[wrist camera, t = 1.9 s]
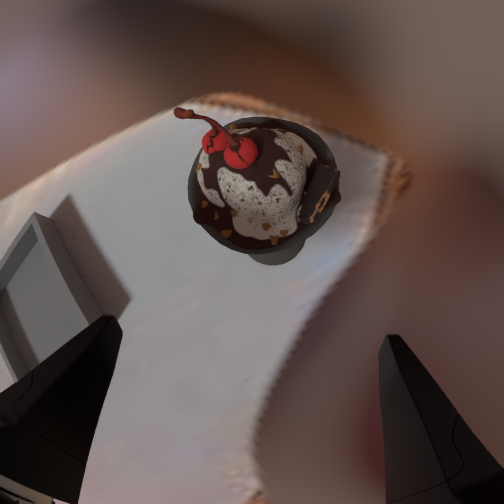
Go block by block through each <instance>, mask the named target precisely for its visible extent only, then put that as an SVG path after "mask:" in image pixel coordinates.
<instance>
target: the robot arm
mask: <svg viewBox="0 0 504 504" xmlns="http://www.w3.org/2000/svg"><path fill="white" fill-rule="evenodd" d="M122 336H123V332H122V329H121V327H120V325H119V323H118V321H117V319H116V317H115V316H113V315H109V314H104V315H102V316H101V317H99V318H98V319H97V320H95V321H94V322H93V323H91V324H90V325H89V326H87V327H86V328H85V329H83V330H82V331H81V332H79V333H78V334H77V335H76V336H74V337H73V338H72V339H70V340H69V341H68V342H66V343H65V344H64V345H63V346H61V347H60V348H59V349H57V350H56V351H55V352H54V353H52V354H51V355H50V356H49V357H47V358H46V359H45V360H44V361H42V362H41V363H40V364H39V365H37V366H36V367H35V368H34V369H32V370H31V371H30V372H29V373H27V374H26V375H25V376H23V377H22V378H21V379H20V380H18V381H17V382H16V383H14V384H13V385H11V386H10V387H9V388H7V389H6V390H4V391H3V392H1V393H0V504H55V502H54V501H53V499H54V498H55V499H57V500H60V501H63V502H66V503H69V504H78V500H79V495H80V491H81V486H82V481H83V477H84V473H85V469H86V463H87V460H88V456H89V452H90V448H91V445H92V441H93V437H94V434H95V430H96V427H97V423H98V420H99V416H100V413H101V410H102V407H103V403H104V400H105V397H106V394H107V391H108V388H109V385H110V382H111V379H112V376H113V373H114V369H115V365H116V361H117V357H118V352H119V348H120V344H121V341H122ZM378 360H379V361H378V362H379V400H380V410H381V419H382V430H383V441H384V457H385V480H386V481H385V482H386V504H504V468H503V467H502V466H501V465H500V464H499V463H498V462H497V461H496V459H495V458H494V457H493V456H492V455H491V453H490V452H489V451H488V450H487V449H486V448H485V446H484V445H483V444H482V443H481V442H480V440H479V439H478V438H477V437H476V436H475V434H473V432H472V431H471V429H470V428H469V426H468V425H467V424H466V422H465V421H464V420H463V418H462V417H461V415H460V414H459V413H458V412H457V410H456V409H455V407H454V406H453V404H452V403H451V402H450V400H449V399H448V398H447V396H446V395H445V393H444V392H443V391H442V389H441V388H440V387H439V385H438V384H437V383H436V381H435V380H434V379H433V377H432V376H431V375H430V373H429V372H428V371H427V369H426V368H425V367H424V366H423V364H422V363H421V362H420V360H419V359H418V358H417V356H416V355H415V354H414V353H413V351H412V350H411V349H410V348H409V346H408V345H407V344H406V343H405V341H404V340H403V339H402V338H401V336H400V335H398V334H389V335H386V336H385V338H384V341H383V343H382V345H381V347H380V349H379V353H378ZM457 413H458V414H457Z"/></svg>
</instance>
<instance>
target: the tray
mask: <svg viewBox="0 0 504 504" xmlns="http://www.w3.org/2000/svg"><path fill="white" fill-rule="evenodd" d="M102 315H104V314H103V312H102V311H101V309H100V307H99V306H98V304H97V303H96V301H95V299H94V298H93V296H92V294H91V293H90V291H89V289H88V288H87V286H86V284H85V282H84V281H83V279H82V277H81V275H80V273H79V272H78V270H77V268H76V266H75V264H74V262H73V260H72V259H71V257H70V255H69V253H68V251H67V249H66V247H65V245H64V243H63V241H62V239H61V237H60V235H59V232H58V230H57V228H56V226H55V224H54V222H53V220H52V219H50V218H47V217H45V216H42V215H40V214H38V213H35V212H34V213H33V214H32V215H31V217H30V218H29V219H28V221H27V222H26V223H25V225H24V226H23V228H22V229H21V231H20V232H19V233H18V235H17V236H16V238H15V239H14V241H13V242H12V244H11V245H10V247H9V249H8V250H7V252H6V253H5V255H4V257H3V258H2V260H1V261H0V352H1V354H2V356H3V359H4V361H5V363H6V365H7V367H8V369H9V372H10V374H11V376H12V378H13V380H14V382H15V383H16V382H17V381H18V380H20V379H21V378H22V377H23V376H25V375H26V374H27V373H29V372H30V371H31V370H32V369H34V368H35V367H36V366H37V365H39V364H40V363H41V362H42V361H44V360H45V359H46V358H47V357H49V356H50V355H51V354H52V353H54V352H55V351H56V350H57V349H59V348H60V347H61V346H63V345H64V344H65V343H66V342H68V341H69V340H70V339H72V338H73V337H74V336H76V335H77V334H78V333H79V332H81V331H82V330H83V329H85V328H86V327H87V326H89V325H90V324H91V323H93V322H94V321H95V320H97V319H98V318H99V317H101V316H102Z"/></svg>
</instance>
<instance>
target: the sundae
mask: <svg viewBox="0 0 504 504" xmlns="http://www.w3.org/2000/svg"><path fill="white" fill-rule="evenodd" d="M174 115H175V116H176V117H177V118H180V119H186V118H188V119H203V120H205V121H207V122H208V123H209V124H210V125H211V126H212V129H211V130H210V131H209V132H208V133H206V134H205V136H204V137H203V139H202V146H203V147H202V148H201V150H200V151H199V153H198V155H197V157H196V159H195V161H194V164H193V166H192V169H191V172H190V175H189V179H188V199H189V203H190V205H191V208H192V211H193V218H194V220H195V222H196V223H198V224H199V225H201V226H202V227H203V228H204V229H205V230H206V231H207V232H208V233H209V234H210V235H211V236H212V237H213V238H214V239H215V240H217V241H218V242H219V243H220V244H222V245H224V246H226V247H228V248H230V249H232V250H234V251H238V252H241V253H245V254H248V255H249V256H250V257H251V258H253V259H254V260H256V261H257V262H259V263H262V264H266V265H279V264H284V263H286V262H288V261H290V260H291V259H293V258H294V257H295V256H296V255H297V254H298V253H299V252H300V250H301V249H302V247H303V244H304V241H305V239H307V238H308V237H310V236H312V235H313V234H315V233H316V232H317V231H318V230H319V229H320V228H321V227H322V226H323V225H324V224H325V222H326V221H327V220H328V218H329V217H330V216H331V215H332V212H333V210H334V208H335V206H336V204H338V203H339V202H340V200H341V195H340V193H339V178H340V171H339V170H337V166H336V163H335V159H334V156H333V154H332V153H331V151H330V149H329V148H328V146H327V145H326V143H325V142H324V141H323V140H322V139H321V138H320V137H319V135H317V134H316V133H314V132H313V131H311V130H310V129H308V128H306V127H304V126H302V125H300V124H298V123H294V122H290V121H286V120H281V119H276V118H270V117H249V118H241V119H239V120H236V121H234V122H231V123H229V124H227V125H225V126H224V127H222V126H221V125H220V124H219V123H218V122H216V121H215V120H213V119H211V118H209V117H206V116H201V115H197V114H195V113H194V111H193V110H191V109H189V110H185V109H183V108H178V107H177V108H175V109H174Z"/></svg>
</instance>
